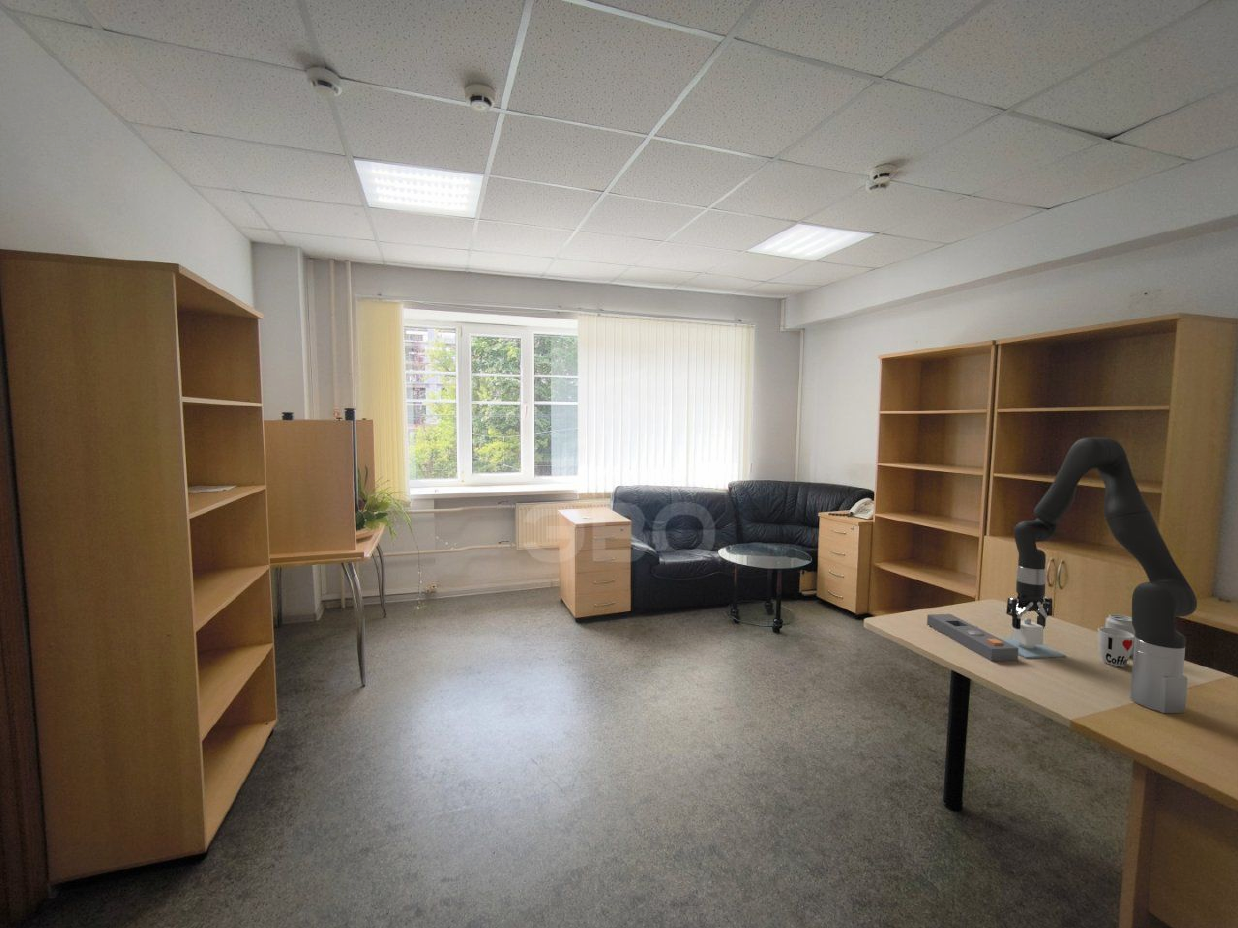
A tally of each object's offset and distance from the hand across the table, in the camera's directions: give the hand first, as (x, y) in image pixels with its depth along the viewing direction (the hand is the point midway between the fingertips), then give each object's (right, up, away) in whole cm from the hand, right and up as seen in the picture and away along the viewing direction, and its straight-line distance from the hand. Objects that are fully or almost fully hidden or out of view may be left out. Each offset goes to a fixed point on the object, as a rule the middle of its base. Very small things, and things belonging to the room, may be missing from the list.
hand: (1028, 628), depth 171 cm
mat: (0, -7, +1) cm, 7 cm away
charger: (0, -6, +1) cm, 6 cm away
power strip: (-15, -7, +6) cm, 18 cm away
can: (+28, -8, -2) cm, 29 cm away
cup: (+19, -8, -10) cm, 23 cm away
